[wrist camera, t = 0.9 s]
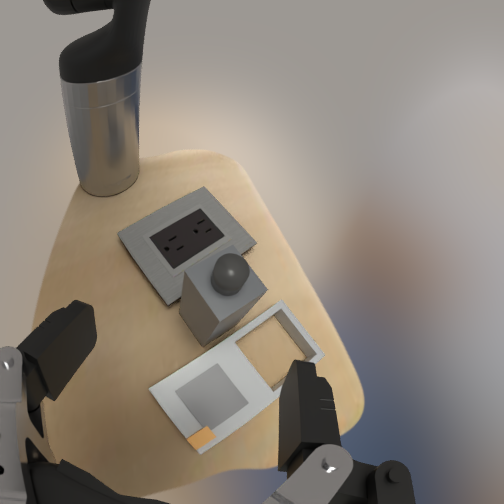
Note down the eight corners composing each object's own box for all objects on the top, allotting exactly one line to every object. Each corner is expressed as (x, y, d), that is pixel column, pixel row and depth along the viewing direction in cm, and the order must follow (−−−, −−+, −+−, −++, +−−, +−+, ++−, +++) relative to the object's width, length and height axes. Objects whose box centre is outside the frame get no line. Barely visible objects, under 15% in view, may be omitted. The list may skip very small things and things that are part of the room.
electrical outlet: (168, 310, 29) (167, 304, 27) (119, 242, 32) (116, 231, 30) (252, 251, 36) (257, 241, 34) (202, 196, 38) (204, 184, 36)
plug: (179, 313, 29) (186, 258, 18) (212, 293, 32) (238, 230, 21) (202, 347, 28) (225, 313, 17) (235, 325, 30) (277, 279, 20)
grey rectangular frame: (150, 389, 24) (148, 388, 22) (274, 306, 33) (283, 297, 30) (197, 450, 22) (200, 455, 20) (315, 358, 31) (327, 354, 28)
